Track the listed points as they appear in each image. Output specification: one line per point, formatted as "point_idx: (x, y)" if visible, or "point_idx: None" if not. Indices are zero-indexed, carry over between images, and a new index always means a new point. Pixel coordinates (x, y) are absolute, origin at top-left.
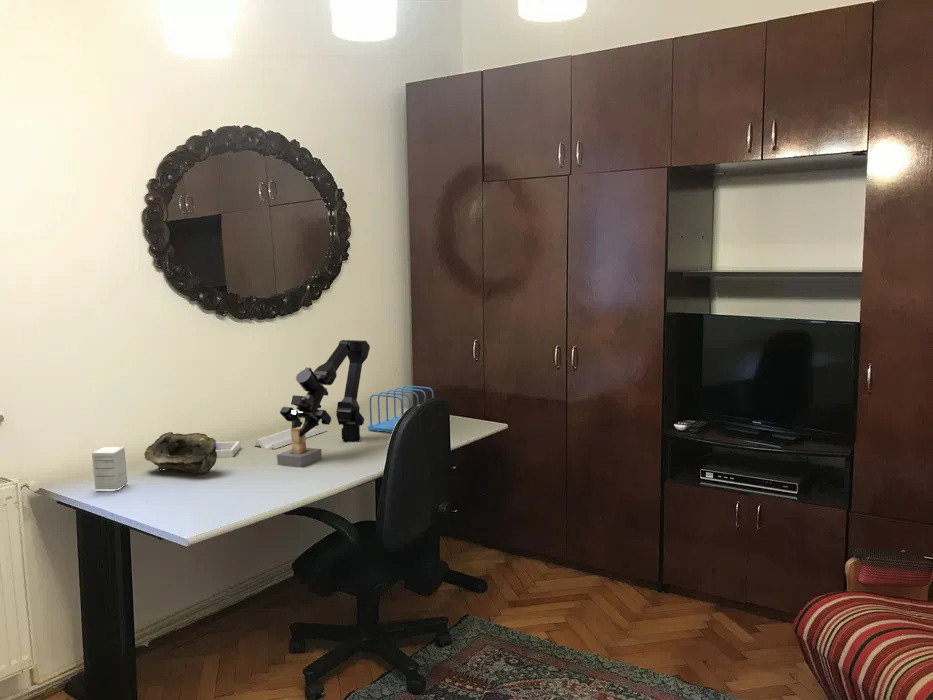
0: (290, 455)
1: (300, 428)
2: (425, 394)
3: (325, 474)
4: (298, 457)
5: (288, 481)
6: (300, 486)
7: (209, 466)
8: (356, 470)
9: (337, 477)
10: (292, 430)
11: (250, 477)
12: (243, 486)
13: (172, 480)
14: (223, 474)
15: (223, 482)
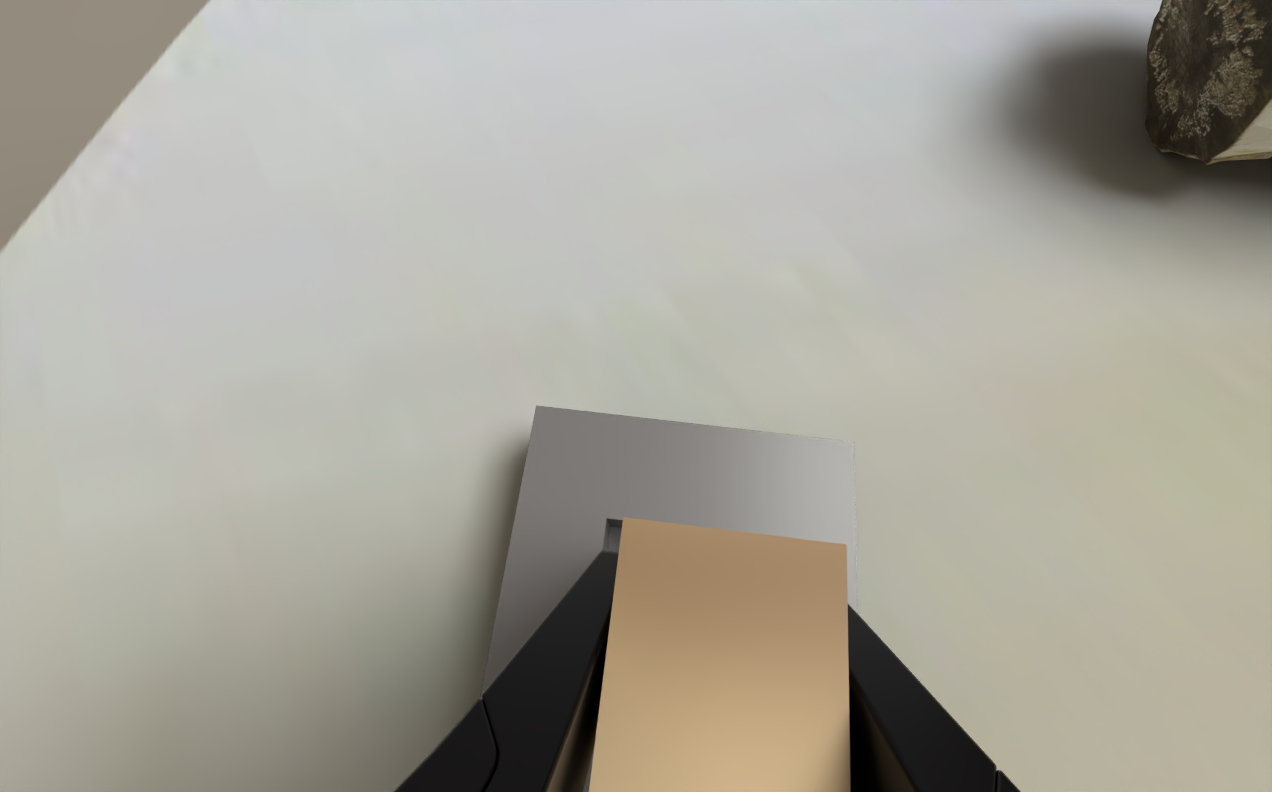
0: (688, 451)
1: (646, 699)
2: None
3: (266, 306)
4: (563, 409)
5: (479, 122)
6: (356, 63)
7: (1188, 106)
8: (10, 466)
9: (149, 261)
10: (792, 538)
11: (787, 137)
12: (704, 2)
13: None
14: (1024, 151)
15: (878, 32)
